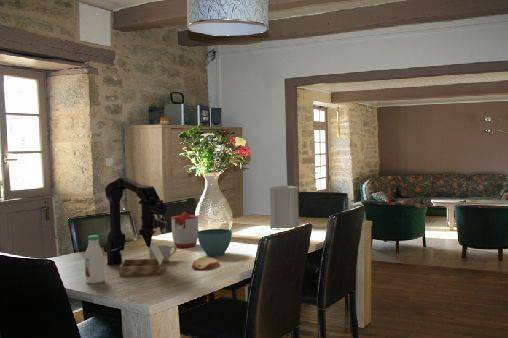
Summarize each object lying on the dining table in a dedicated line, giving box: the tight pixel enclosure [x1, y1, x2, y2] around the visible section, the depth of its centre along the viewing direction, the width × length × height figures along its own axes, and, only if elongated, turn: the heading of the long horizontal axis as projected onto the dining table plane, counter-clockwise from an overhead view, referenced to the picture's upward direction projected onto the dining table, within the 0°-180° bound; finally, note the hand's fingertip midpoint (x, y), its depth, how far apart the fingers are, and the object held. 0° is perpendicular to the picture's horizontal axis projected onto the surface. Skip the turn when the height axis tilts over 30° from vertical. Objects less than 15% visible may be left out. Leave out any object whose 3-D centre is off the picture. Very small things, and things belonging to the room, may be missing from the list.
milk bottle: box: [84, 234, 105, 284], centre depth 233 cm, size 8×8×20 cm
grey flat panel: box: [150, 240, 164, 265], centre depth 251 cm, size 9×15×1 cm
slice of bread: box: [191, 256, 219, 272], centre depth 260 cm, size 18×18×4 cm
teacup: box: [148, 244, 177, 263], centre depth 270 cm, size 14×11×8 cm
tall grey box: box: [268, 185, 300, 230], centre depth 366 cm, size 19×15×28 cm
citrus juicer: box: [170, 211, 199, 249], centre depth 308 cm, size 16×17×20 cm
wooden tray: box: [118, 258, 164, 277], centre depth 251 cm, size 18×16×4 cm
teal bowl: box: [197, 228, 233, 257], centre depth 284 cm, size 18×18×12 cm
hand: (148, 247), depth 250 cm, fingers closed
